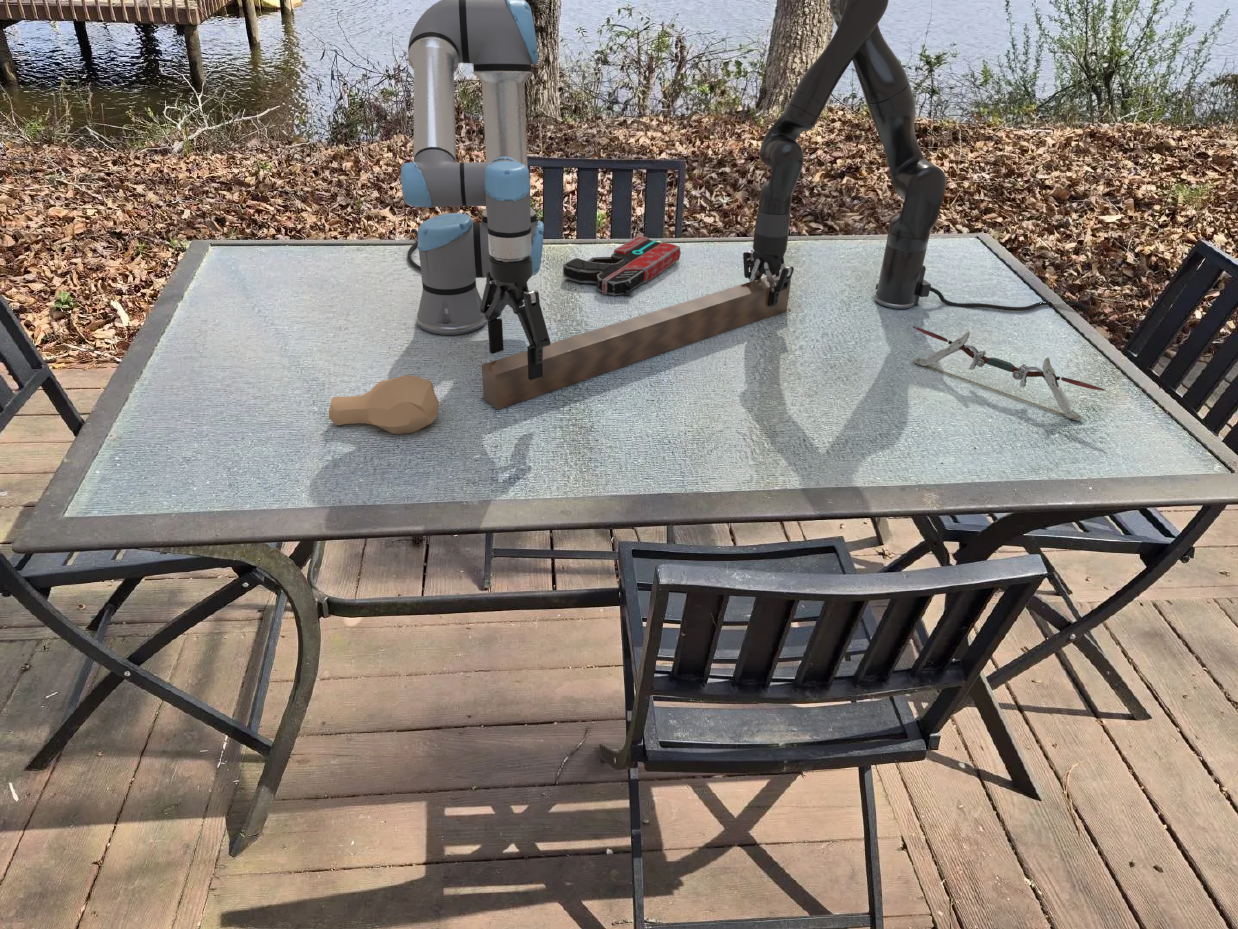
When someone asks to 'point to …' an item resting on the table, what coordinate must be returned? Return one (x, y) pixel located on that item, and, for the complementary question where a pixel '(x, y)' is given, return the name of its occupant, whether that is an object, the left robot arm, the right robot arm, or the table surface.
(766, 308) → the post
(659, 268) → the gun
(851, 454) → the table surface
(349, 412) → the squash
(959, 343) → the bow
